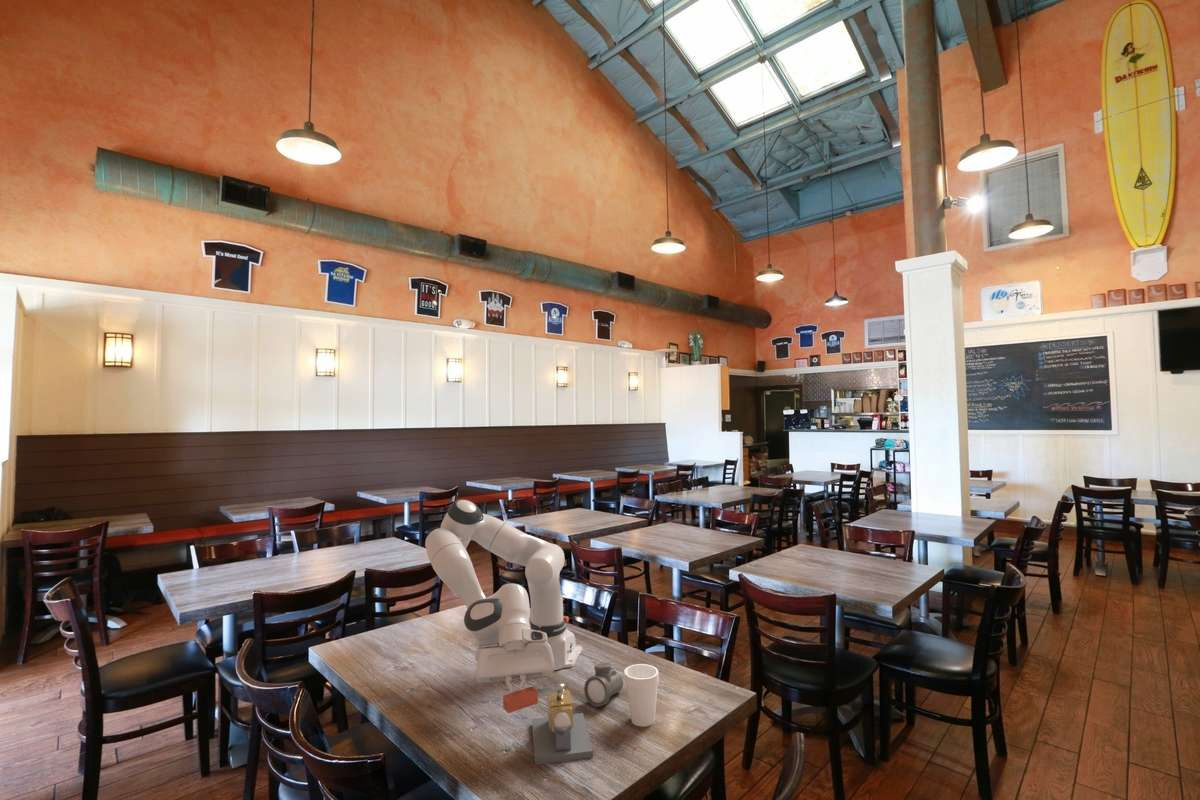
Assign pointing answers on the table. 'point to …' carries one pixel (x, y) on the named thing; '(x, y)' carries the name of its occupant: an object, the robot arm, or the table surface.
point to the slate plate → (546, 741)
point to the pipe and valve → (561, 718)
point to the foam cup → (642, 693)
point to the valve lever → (528, 696)
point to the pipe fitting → (602, 684)
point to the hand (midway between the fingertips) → (516, 696)
